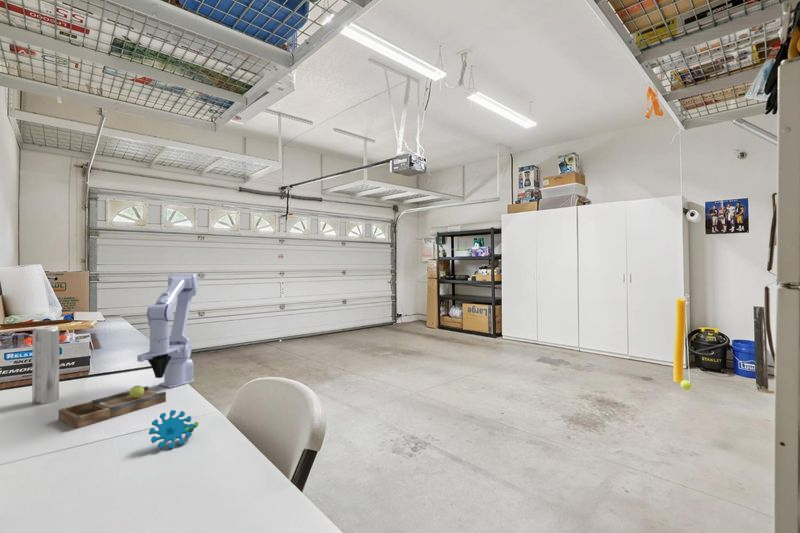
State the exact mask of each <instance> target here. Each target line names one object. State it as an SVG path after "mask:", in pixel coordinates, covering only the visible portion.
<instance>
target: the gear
mask: <svg viewBox="0 0 800 533" xmlns="http://www.w3.org/2000/svg"><path fill="white" fill-rule="evenodd" d="M176 413H177V411H176V410H174V409H171V410H170V411H169V417H168V419H166V415H167V414H166V412H162V413H160V414H159V418H160V419H161V422H162V423H160V424H159V420H158V419H157V418H155V419H154V420H153V421H151V425H152V426H155V427H157V429H158V430H156V429H155V428H154V427H151V428H150V429H149V431H148V435H154V436H152V437H151V439H150V442H151V444H154V443H156V442H157V441H159V442H158V444H157V447H158V448H159V449H163V448H164V446H165V445H166V443H168V442H170V441H171V442H170V443H169V444H168V446H167V449H168V450H169V449H171V450H172V448H173V449H174V448H175V441H176V440H177V439H179V441H178V443H177V445H178V446H183V445H184V444H185V439H184V438H183V434H185V438H186V439H187V440H188V439H189V438H191V436H192V435H193V432H194V430H195V429H196V428H197V427H198V426H199V422H198V421H195V422H194V423H190V422H191V421H192V416H191V415H189V416H187V417H185V414H186V412H185V411H184V410H181V411H180V412H179V413H178V415H177V416H175V414H176ZM173 416H175V417H173ZM183 417H185V418H183ZM185 422H187V423H188V424H187V423H185ZM155 435H158V436H155ZM160 440H164V441H160Z"/></svg>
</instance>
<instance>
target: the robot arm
mask: <svg viewBox="0 0 800 533" xmlns="http://www.w3.org/2000/svg"><path fill="white" fill-rule="evenodd" d="M167 285H168V288H167V289H166V291H163V292H162V293H161V294H160V295H159V297H158V298H157V301H156V302H155V303H154V304H151V305H149V306H148V308H147V311H146V319H147V325H148V326H149V350H148V352H145V353H141V354H139V355H136V356H137V358H136V361H137V362H140V363H143V362H145V361H147V362H148V364H149V365H150V367H151V369H152V371H153V373H154V378H156V379H162V378H163V382H160V383H158V385H159V386H163V387H166V388H169V389H171V388H172V389H173V388H176V387H179V386H182V385H183V386H184V385H187V384H189V383H190V384H191V383H193V382H195V379H194V362H193V360H192V359H191V358H190V357H191V355H192V342H191V340H190V339H189V337H187V336H186V331H187V326H188V325H187V324H188V319H189V312H190V307H191V304H192V303H191V302H192V298H193V297H194V296H196V295H197V292H198V288H199V277H198V275H197V273H170V275H169V276H168V278H167ZM175 305H176V306H175ZM174 307H175V312H174ZM173 313H174V316H173ZM172 318H173V322H172V326H171V327H172V328H171V332H170V321H171V320H172ZM185 382H186V383H185Z"/></svg>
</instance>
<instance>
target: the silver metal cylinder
mask: <svg viewBox="0 0 800 533" xmlns="http://www.w3.org/2000/svg"><path fill="white" fill-rule="evenodd" d="M31 376H32V377H31V380H32V382H31V383H32V386H31V387H32V391H31V392H32V395H31V397H32V398H31V403H32V405H37V406H38V405H46V404H51V403H54V402H57V401H58V400H59V398H60V329H59V327H58V326H56V325H51V326H50V325H49V326H41V327H36V328H34V330H33V331H32V375H31Z"/></svg>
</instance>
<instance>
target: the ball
mask: <svg viewBox="0 0 800 533" xmlns="http://www.w3.org/2000/svg"><path fill="white" fill-rule="evenodd" d="M143 387H144V386H142V385H134V386H132V388H130V390H129V391H130V393H129V394H130V396H131V397H132V398H139V397H141V396H142V395H143V394H144V388H143Z"/></svg>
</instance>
